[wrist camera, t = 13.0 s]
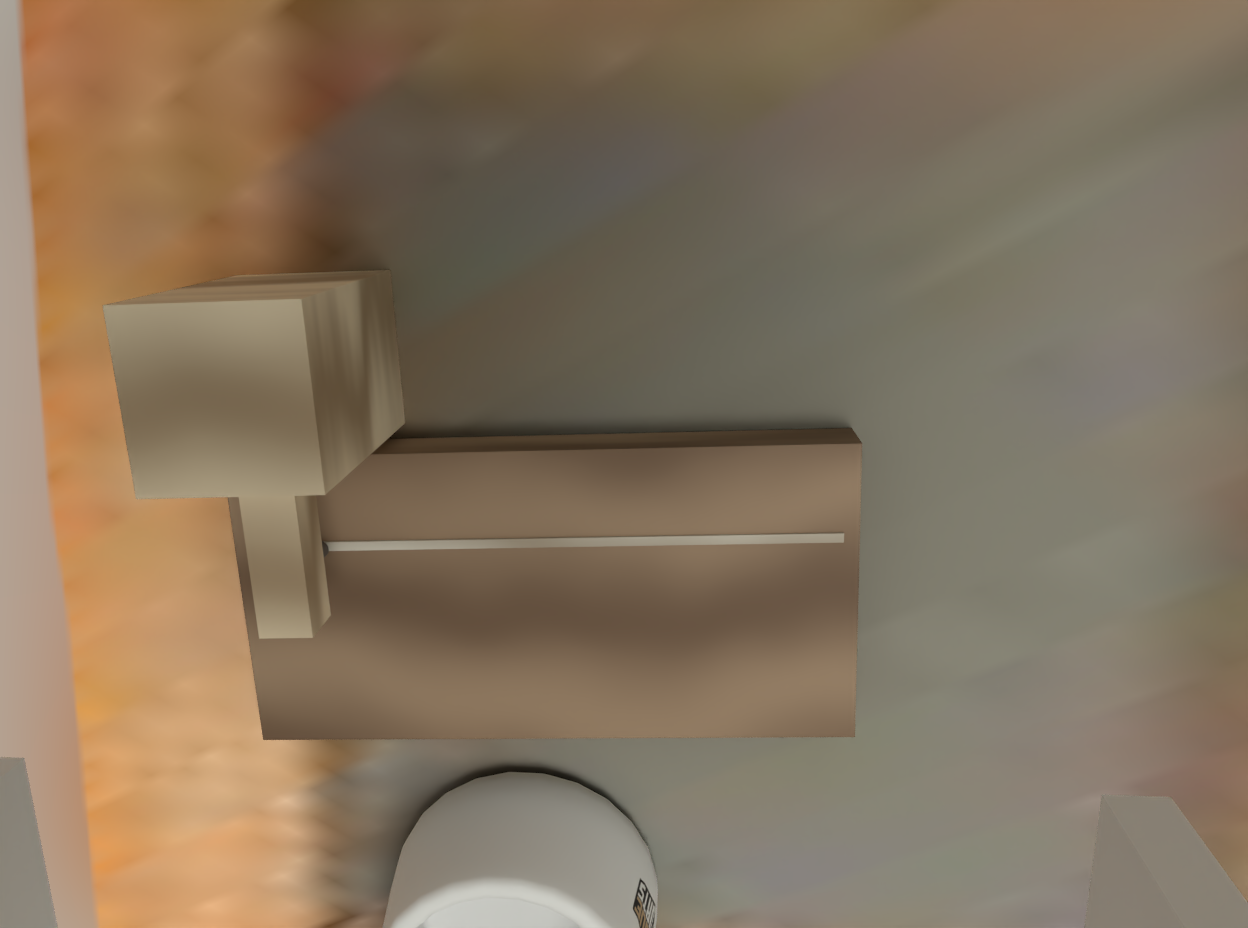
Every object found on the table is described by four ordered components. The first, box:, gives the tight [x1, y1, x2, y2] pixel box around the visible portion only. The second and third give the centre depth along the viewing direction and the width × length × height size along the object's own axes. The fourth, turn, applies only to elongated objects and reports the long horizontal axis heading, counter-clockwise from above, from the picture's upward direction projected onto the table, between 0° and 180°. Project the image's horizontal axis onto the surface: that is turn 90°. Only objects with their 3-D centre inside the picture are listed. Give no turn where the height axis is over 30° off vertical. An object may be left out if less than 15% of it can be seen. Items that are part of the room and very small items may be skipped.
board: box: [228, 428, 862, 740], centre depth 34 cm, size 10×20×2 cm, turn 92°
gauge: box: [103, 270, 405, 639], centre depth 30 cm, size 10×5×8 cm, turn 2°
